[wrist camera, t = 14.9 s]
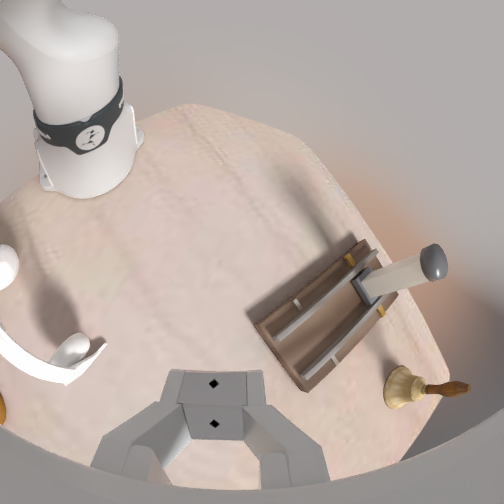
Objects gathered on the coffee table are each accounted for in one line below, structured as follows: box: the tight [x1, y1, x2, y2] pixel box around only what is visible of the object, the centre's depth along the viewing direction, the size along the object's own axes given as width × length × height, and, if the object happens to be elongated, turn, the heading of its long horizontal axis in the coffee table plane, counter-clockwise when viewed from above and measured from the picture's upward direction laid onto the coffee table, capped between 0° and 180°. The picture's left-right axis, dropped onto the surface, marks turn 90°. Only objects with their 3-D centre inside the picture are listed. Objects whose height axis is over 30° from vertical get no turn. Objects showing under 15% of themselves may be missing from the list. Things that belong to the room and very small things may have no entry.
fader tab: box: [351, 244, 448, 306], centre depth 34 cm, size 5×4×15 cm
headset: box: [0, 244, 107, 386], centre depth 19 cm, size 20×7×18 cm, turn 53°
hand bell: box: [384, 366, 471, 409], centre depth 33 cm, size 8×8×16 cm
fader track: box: [254, 239, 398, 393], centre depth 39 cm, size 12×24×4 cm, turn 125°
